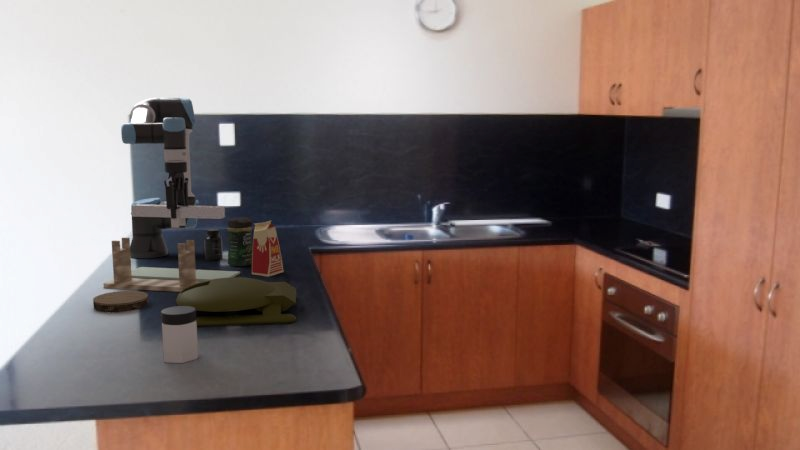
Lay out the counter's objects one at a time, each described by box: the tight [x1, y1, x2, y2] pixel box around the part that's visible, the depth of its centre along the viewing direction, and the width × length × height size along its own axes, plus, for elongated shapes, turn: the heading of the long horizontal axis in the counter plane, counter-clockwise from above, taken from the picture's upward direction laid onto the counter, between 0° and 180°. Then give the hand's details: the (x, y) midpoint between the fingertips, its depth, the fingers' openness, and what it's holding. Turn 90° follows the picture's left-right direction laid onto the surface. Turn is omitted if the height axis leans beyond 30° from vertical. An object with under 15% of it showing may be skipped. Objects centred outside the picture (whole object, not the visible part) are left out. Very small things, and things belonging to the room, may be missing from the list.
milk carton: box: [251, 220, 284, 278], centre depth 270 cm, size 9×9×20 cm
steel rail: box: [130, 204, 226, 220], centre depth 264 cm, size 34×4×4 cm, turn 79°
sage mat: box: [131, 266, 241, 282], centre depth 267 cm, size 40×14×1 cm, turn 79°
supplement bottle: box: [204, 228, 224, 262], centre depth 296 cm, size 7×7×12 cm
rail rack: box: [103, 237, 200, 293], centre depth 249 cm, size 33×9×16 cm, turn 79°
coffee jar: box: [226, 216, 254, 267], centre depth 285 cm, size 10×8×19 cm
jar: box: [160, 305, 199, 364], centre depth 178 cm, size 9×8×12 cm
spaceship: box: [175, 276, 297, 327], centre depth 220 cm, size 35×31×10 cm
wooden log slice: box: [92, 290, 150, 313], centre depth 226 cm, size 16×16×3 cm
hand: (178, 226), depth 264 cm, fingers closed on steel rail, 4 cm apart
